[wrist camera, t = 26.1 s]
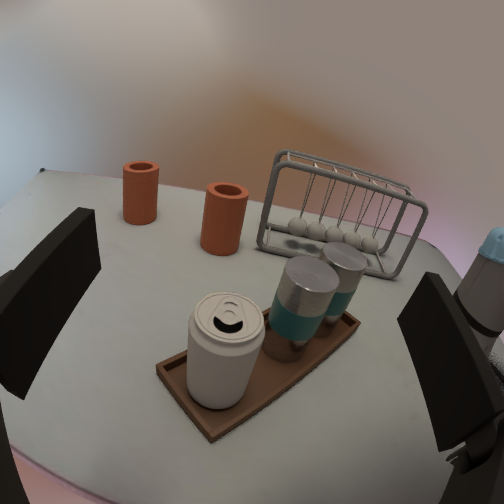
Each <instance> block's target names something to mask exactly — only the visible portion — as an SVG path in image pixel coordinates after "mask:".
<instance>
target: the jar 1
mask: <svg viewBox="0 0 504 504" xmlns="http://www.w3.org/2000/svg"><path fill="white" fill-rule="evenodd" d="M158 175H159V165H158V164H156V163H153V162H149V161H135V162H130V163H127V164H125V165H124V167H123V216H124V220H125V221H126V222H128V223H130V224H134V225H145V224H149V223H151V222H153V221H154V220H155V219H156V216H157V193H158Z"/></svg>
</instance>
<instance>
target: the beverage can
mask: <svg viewBox="0 0 504 504" xmlns="http://www.w3.org/2000/svg"><path fill="white" fill-rule="evenodd" d="M264 336H265V326H264V317H263V314H262V311H261V310H260V308H259V307H258V306H257V304H256V303H254V302H253V301H252V300H251V299H249V298H247V297H245V296H243V295H240V294H237V293H233V292H216V293H212V294H209V295H207V296H205V297H203V298H202V299H201V300H200V301H199V302H198V303H197V305H196V307H195V310H194V311H193V312H192V314H191V316H190V319H189V328H188V349H187V379H186V383H187V389H188V391H189V393H190V395H191V396H192V398H193V399H194V400H195V401H197V402H198V403H199V404H201V405H203V406H205V407H208V408H212V409H224V408H228V407H231V406H233V405H235V404H236V403H237V402H238V401H239V400H240V399H241V398H242V397H243V395H244V392H245V389H246V387H247V384H248V381H249V378H250V376H251V373H252V370H253V367H254V365H255V362H256V359H257V356H258V353H259V351H260V348H261V345H262V342H263V339H264Z"/></svg>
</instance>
